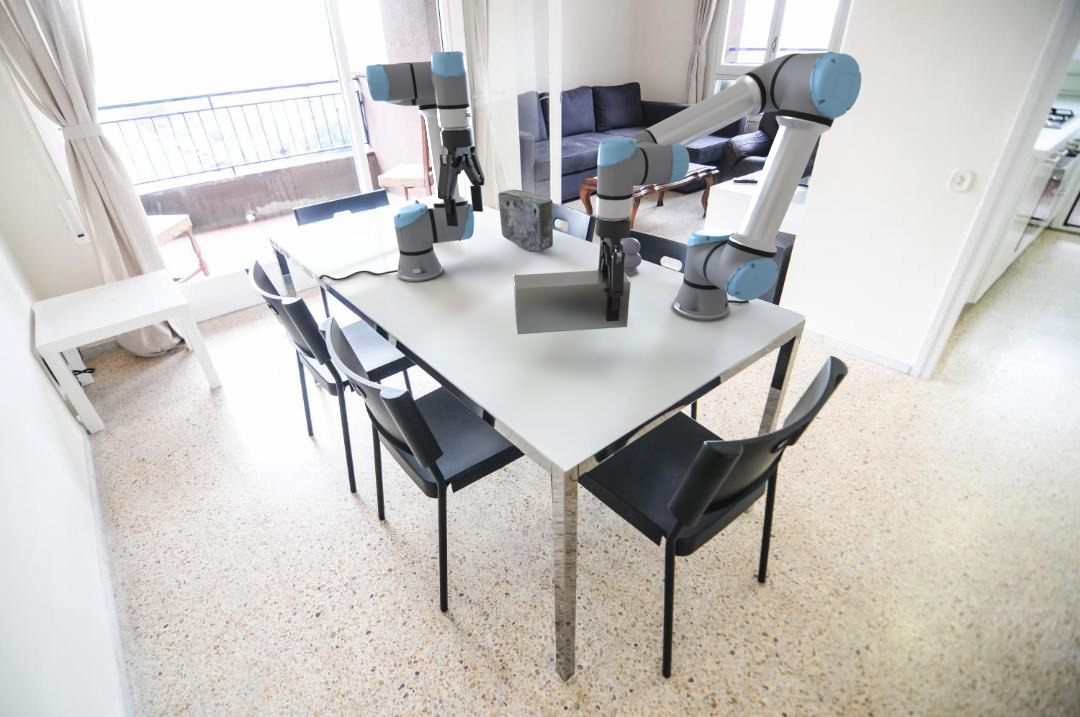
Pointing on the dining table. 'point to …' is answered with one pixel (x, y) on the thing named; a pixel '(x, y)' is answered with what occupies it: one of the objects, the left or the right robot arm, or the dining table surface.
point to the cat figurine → (631, 255)
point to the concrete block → (526, 219)
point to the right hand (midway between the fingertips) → (608, 312)
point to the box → (566, 302)
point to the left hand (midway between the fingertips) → (465, 218)
